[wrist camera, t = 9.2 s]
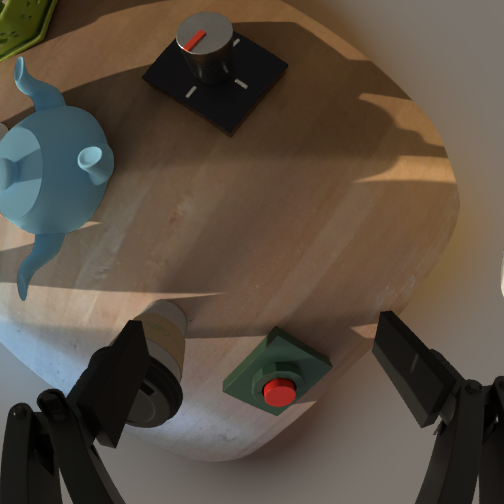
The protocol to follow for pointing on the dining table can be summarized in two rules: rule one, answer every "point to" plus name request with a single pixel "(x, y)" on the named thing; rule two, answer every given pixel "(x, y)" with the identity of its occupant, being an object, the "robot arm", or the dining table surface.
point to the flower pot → (23, 24)
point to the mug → (3, 131)
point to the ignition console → (276, 370)
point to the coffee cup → (158, 365)
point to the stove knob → (208, 46)
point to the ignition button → (279, 392)
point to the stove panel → (223, 94)
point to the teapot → (51, 171)
